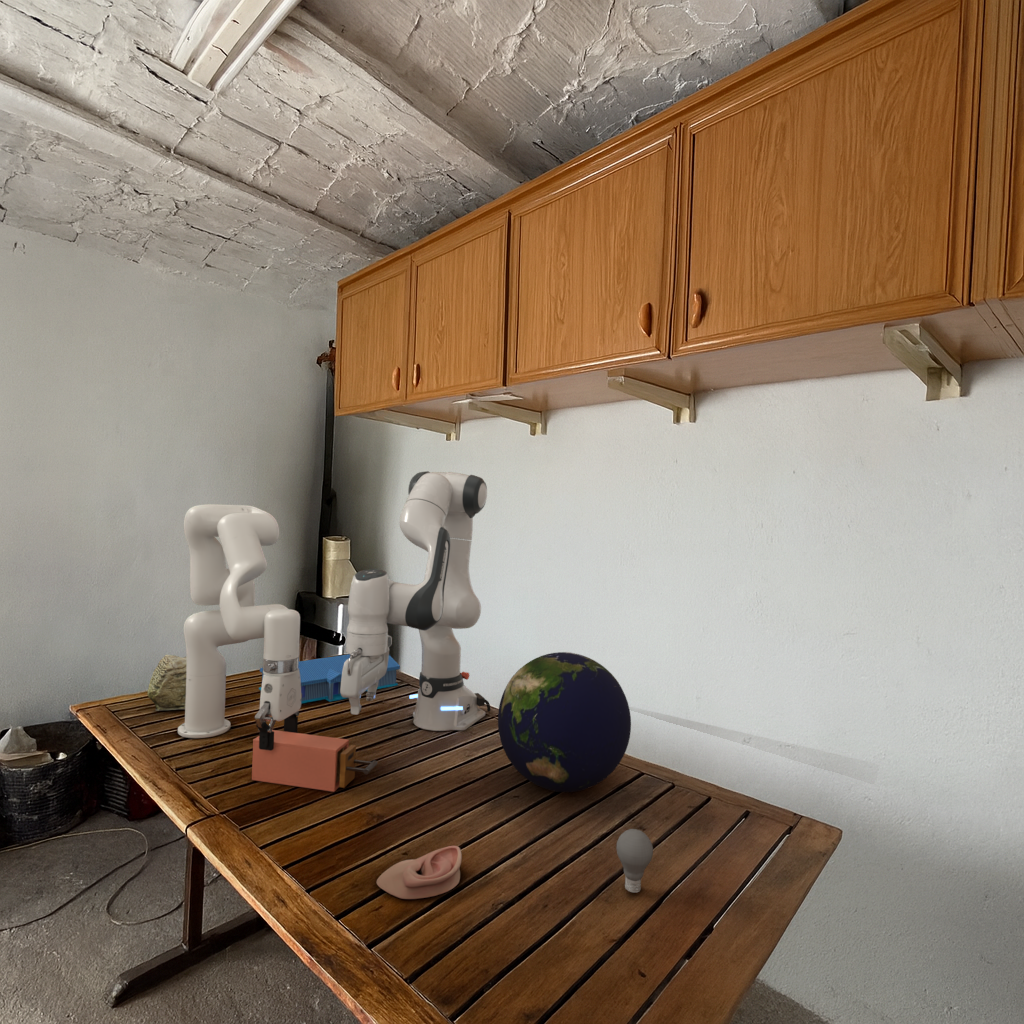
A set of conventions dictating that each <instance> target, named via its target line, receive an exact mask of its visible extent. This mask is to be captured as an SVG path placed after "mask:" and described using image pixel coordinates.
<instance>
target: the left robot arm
mask: <svg viewBox="0 0 1024 1024" xmlns="http://www.w3.org/2000/svg"><path fill="white" fill-rule="evenodd" d="M183 532H184V537H185V542H186V543H187V547H188V551H189V561H190V562H189V590H190V591H189V592H190V598H191V601H192V603H193V604H195V605H197V606H202V607H205V606H208V607H209V606H219V609H210V610H203V611H198V612H194V613H193V614H191V615H189V616H188V617H187V618H186V619H185V621H184V623H183V637H184V641H185V642H184V643H185V651H186V652H185V653H186V657H187V668H186V701H185V709H184V722H182V724H180V725H179V726H178V727H177V734H178V735H179V736H180V737H182V738H188V739H207V738H212V737H216V736H220V735H222V734H224V733H227V732H228V731H230V729H231V727H232V725H231V723H232V722H231V721H230V720H228V719H226V718H225V715H226V692H227V691H226V689H227V661H226V658H225V657H224V656H223V654H222V653H221V652H220V651H219V650H218V647H222V646H228V645H236V644H240V643H245V642H248V641H251V640H258V639H263V657H262V664H263V665H262V668H263V674H264V675H263V680H262V679H261V686H260V687H261V690H260V696H259V697H260V699H259V710H258V711H257V713H256V714H255V715H254V721H255V724H256V729H257V731H258V732H259V734H258V736H259V749H262V750H270V751H271V750H273V749H274V731H272V730H274V727H275V725H276V722H282V721H283V731H285V732H293V733H298V729H299V725H298V724H299V716H300V710H301V708H302V704H301V698H302V693H301V679H300V672H299V661H300V638H301V637H300V636H301V635H300V634H301V633H300V632H301V614H300V613H299V611H297V610H295V609H290V608H288V607H287V606H285V605H284V604H280V603H271V604H259V605H256V584H255V580H254V579H256V578H258V577H260V576H261V575H262V574H264V573H265V572H266V570H267V568H268V561H267V558H266V556H265V553H264V550H263V547H267V546H270V547H271V546H273V545H274V544H276V542H277V541H278V540H279V537H280V526H279V523H278V521H277V519H276V518H275V517H274V516H273V514H271V513H270V512H268V511H265V510H263V509H260V508H258V507H256V506H253V505H247V504H223V503H222V504H221V503H218V504H217V503H209V504H208V503H207V504H197V505H194V506H191V507H190V508H189V509H187V511H186V512H185V515H184V519H183ZM218 537H219V540H218V539H217V538H218ZM226 564H227V566H226ZM227 567H228V568H227ZM267 722H269V724H268V723H267Z"/></svg>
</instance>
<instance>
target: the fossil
mask: <svg viewBox="0 0 1024 1024" xmlns="http://www.w3.org/2000/svg"><path fill="white" fill-rule="evenodd" d="M186 668H187V656H183V657H182V656H178V655H175V654H174V655H173V654H165V655H164V656H163V657H162V658H161V659H160V660H159V662H158V663H157V666H156V667H155V669H154V670H153V672H152V675H151V677H150V680H149V684H148V688H147V697H148V699H149V700H150V701H152V703H153V704H154V706H155V711H158V712H159V711H162V712H163V711H177V710H185V701H186Z"/></svg>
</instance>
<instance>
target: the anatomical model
mask: <svg viewBox="0 0 1024 1024" xmlns="http://www.w3.org/2000/svg"><path fill="white" fill-rule="evenodd" d="M462 859H463V855H462V850H461V847H459V846H457V845H449V846H445V847H441V848H438V849H436V850H433V851H430V852H428V853H426V854H424V855H422V856H420V857H417V858H413V859H412V858H411V859H404V860H401V861H399V862H397V863H395V864H393V865H391V866H390V867H388V868H387V869H386V870H384V871H383V872H382V873H381V875H379V876H378V878H377V879H376V885H377V887H379V888H380V889H381V890H383V891H384V892H386V893H387V894H389V895H391V896H393V897H396V898H399V899H401V900H417V899H424V898H430V897H435V896H438V895H442V894H444V893H445V894H446V893H447V892H449V891H451V890H452V889H454V888H455V887H456V886H457V885H458V884H459V883H460V880H461V870H460V867H461V865H462Z"/></svg>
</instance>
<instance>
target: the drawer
mask: <svg viewBox="0 0 1024 1024" xmlns="http://www.w3.org/2000/svg"><path fill="white" fill-rule="evenodd" d="M344 748H345V746H344V747H343V748H342V749H341V750H339V751H338V752H337V769H336V783H337V782H338V781H339V780H340V782H339V788H343V789H345V788H346V787H347V786H348V785H349V784H350V783H351V782H352V781H353V780H354V779H355V778H356V772H358V773H363V774H364V775H365V776H366V775H368V774H370V773H371V772H372V771H373V769H375V768H376V766H378V761H377V760H372V761H369V760H362V759H356V754H357V745H355V744H349V747H348V748H347V749H346V750H344ZM356 764H357V765H358V764H359V765H366V767H365V768H361V767H356Z"/></svg>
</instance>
